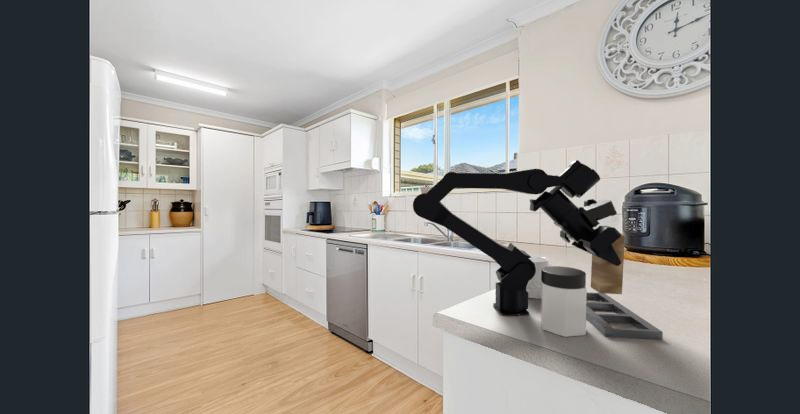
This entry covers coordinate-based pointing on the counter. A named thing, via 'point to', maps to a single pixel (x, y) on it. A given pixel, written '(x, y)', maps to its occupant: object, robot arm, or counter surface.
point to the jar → (563, 301)
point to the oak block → (608, 271)
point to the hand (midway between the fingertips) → (613, 262)
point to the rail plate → (618, 319)
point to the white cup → (536, 277)
